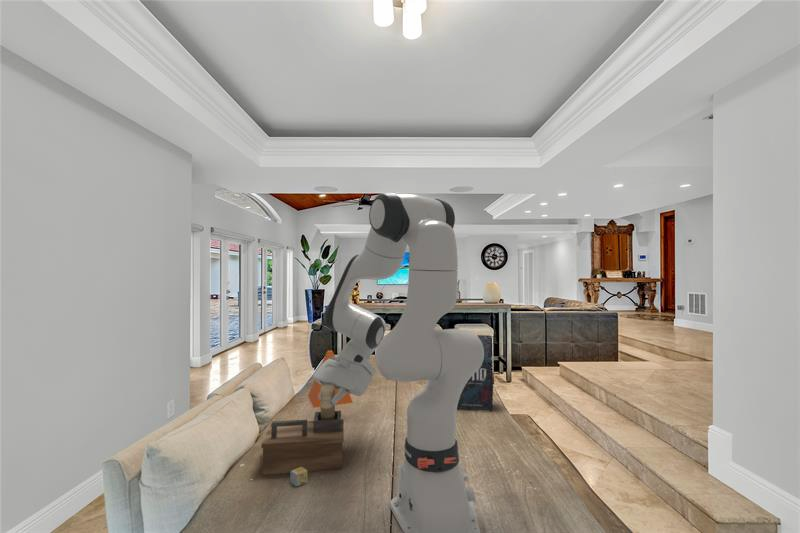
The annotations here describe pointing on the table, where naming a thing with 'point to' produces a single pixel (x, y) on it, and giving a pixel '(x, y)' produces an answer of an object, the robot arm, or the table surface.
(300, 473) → the alphabet block
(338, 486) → the table surface
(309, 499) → the table surface
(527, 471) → the table surface
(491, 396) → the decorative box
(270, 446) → the toolbox
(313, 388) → the pyramid
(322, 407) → the dowel key
